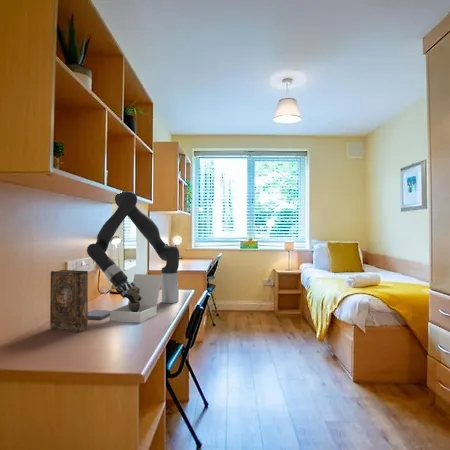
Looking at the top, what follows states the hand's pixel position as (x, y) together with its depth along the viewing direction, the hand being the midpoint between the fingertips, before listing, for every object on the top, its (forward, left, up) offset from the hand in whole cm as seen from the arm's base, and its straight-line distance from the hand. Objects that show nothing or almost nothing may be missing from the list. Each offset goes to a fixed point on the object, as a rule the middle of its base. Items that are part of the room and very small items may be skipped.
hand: (137, 301), depth 175 cm
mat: (+11, -18, -8) cm, 22 cm away
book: (+31, -6, -8) cm, 32 cm away
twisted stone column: (+1, -2, -8) cm, 8 cm away
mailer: (-2, -3, -8) cm, 9 cm away
